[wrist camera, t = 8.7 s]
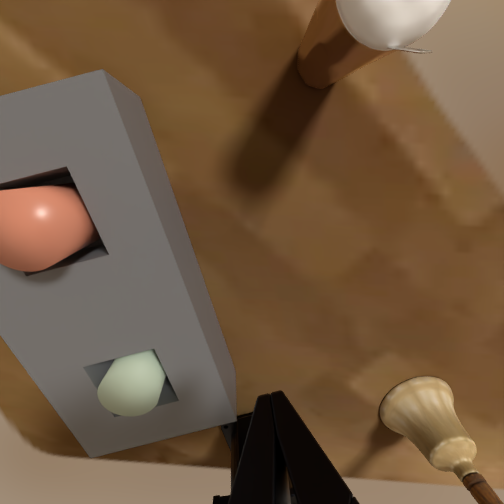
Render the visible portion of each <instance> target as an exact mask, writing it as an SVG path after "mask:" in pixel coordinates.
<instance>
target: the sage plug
mask: <svg viewBox="0 0 504 504" xmlns="http://www.w3.org/2000/svg"><path fill="white" fill-rule="evenodd" d="M165 377H166V372H165V370H164V368H163V366H162V364H161V362H160V360H159V358H158V356H157V354H156V351H155V349H151V350H147V351H143V352H139V353H135V354H132V355H128V356H124V357H120V358H116V359H115V360H114V361H113V363H112V365H111V366H110V368H109V370H108V371H107V373H106V375H105V376H104V378H103V380H102V381H101V383H100V385H99V387H98V391H97V395H98V399H99V401H100V403H101V404H102V405H103V406H104V407H105V408H106V409H107V410H109V411H110V412H112V413H115V414H117V415H121V416H139V415H143V414H145V413H147V412H149V411H151V410H152V409H153V408H154V407H155V406H156V405H157V403H158V400H159V397H160V393H161V390H162V387H163V384H164V381H165Z"/></svg>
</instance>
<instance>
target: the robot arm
mask: <svg viewBox="0 0 504 504" xmlns="http://www.w3.org/2000/svg"><path fill="white" fill-rule="evenodd" d="M221 429H222V431H223V434H224V436H225V438H226V441H227V443H228V446H229V448H230V450H231V495H228V496H221V497H220V496H219V495H218V496H214V497H213V504H359V502H358V501H357V500H356V498H355V497H353V494H352V492H351V491H350V489H349V488H348V486H347V485H346V483H345V482H344V481H343V479H342V478H341V476H340V475H339V473H338V472H337V470H336V469H335V467H334V466H333V464H332V463H331V461H330V460H329V459H328V457H327V456H326V454H325V453H324V451H323V450H322V448H321V447H320V445H319V444H318V442H317V441H316V440H315V438H314V437H313V435H312V434H311V432H310V431H309V429H308V428H307V426H306V425H305V423H304V422H303V420H302V419H301V418H300V416H299V415H298V413H297V412H296V410H295V409H294V407H293V406H292V404H291V403H290V401H289V400H288V398H287V397H286V396H285V394H284V393H283V391H281V390H279V391H276V392H272V393H271V394H264V395H260V396H258V398H257V401H256V404H255V408H254V411H253V413H250V414H246V415H243V416H239V417H237V421H235V422H231V423H227V424H223V425H221Z"/></svg>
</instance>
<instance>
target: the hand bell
mask: <svg viewBox="0 0 504 504" xmlns="http://www.w3.org/2000/svg"><path fill="white" fill-rule="evenodd" d="M453 402H454V399H453V394H452V391H451V388H450V387H449V385H448V384H447V383H446V382H444V381H443V380H441V379H439V378H435V377H430V376H423V377H415V378H412V379H409V380H407V381H405V382H402V383H400V384H399V385H397V386H395V387H394V388H393V389H391V390H390V392H389V393H388V394H387V395H386V396H385V398H384V399H383V401H382V403H381V406H380V417H381V420H382V422H383V423H384V424H385V425H386V426H387V427H388V428H389V429H391V430H392V431H394V432H397V433H399V434H402V435H404V436H405V437H407V438H408V439H409V440H410V441H411V442H412V443H413V444H414V445H415V446H416V447H417V448H418V449H419V450H420V451H421V452H422V454H423V455H424V456H425V457H426V459H427V460H428V461H429V463H430V464H431V465H432V466H433V467H434V468H436V469H438V470H441V471H445V472H447V471H450V472H454V473H455V474H456V475H457V477H458V478H459V479H460V481H461V482H463V484H464V486H465V487H466V488H467V490H469V491H470V493H471V495H472V496H473V497H474V499H475V500H476V501H477V502H478V504H503V502H502V501H501V500H500V499H499V497H498V496H497V495H496V493H495V492H494V491H493V489H492V488H491V487H490V486H489V484H487V482H486V480H485V479H484V477H483V476H482V475H481V474H479V472H478V471H477V469H476V468H475V467H474V465H473V464H472V461H473V459H474V457H475V456H476V452H477V450H476V445H475V443H474V441H473V440H472V439H471V437H470V436H469V435H468V433H467V432H466V430H465V429H464V428H463V426H462V424H461V423H460V421H459V419H458V418H457V416H456V414H455V411H454V407H453Z"/></svg>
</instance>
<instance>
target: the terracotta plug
mask: <svg viewBox="0 0 504 504" xmlns="http://www.w3.org/2000/svg"><path fill="white" fill-rule="evenodd" d="M100 238H101V237H100V235H99V232H98V230H97V228H96V226H95V224H94V222H93V220H92V218H91V216H90V214H89V212H88V210H87V207H86V205H85V203H84V201H83V199H82V197H81V195H80V193H79V191H78V189H77V187H76V184H75V183H65V184H56V185H47V186H38V187H29V188H19V189H10V190H1V191H0V264H2V265H4V266H6V267H9V268H12V269H15V270H19V271H27V272H33V271H40V270H43V269H46V268H48V267H50V266H52V265H54V264H56V263H57V262H59V261H61V260H63V259H64V258H66V257H68V256H70V255H72V254H73V253H75V252H77V251H79V250H81V249H82V248H84V247H86V246H88V245H89V244H91V243H93V242H95V241H97V240H98V239H100Z"/></svg>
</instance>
